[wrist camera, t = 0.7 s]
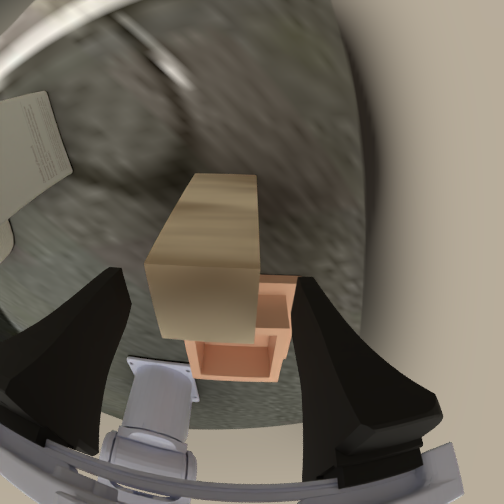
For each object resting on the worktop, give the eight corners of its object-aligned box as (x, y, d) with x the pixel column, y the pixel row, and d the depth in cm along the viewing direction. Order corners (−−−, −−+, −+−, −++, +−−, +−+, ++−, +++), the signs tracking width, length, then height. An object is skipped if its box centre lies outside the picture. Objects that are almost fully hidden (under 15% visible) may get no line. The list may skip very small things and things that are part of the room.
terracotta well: (285, 350, 28) (288, 387, 24) (188, 346, 27) (182, 383, 24) (301, 275, 22) (309, 316, 18) (175, 270, 22) (162, 310, 18)
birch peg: (253, 229, 20) (254, 343, 11) (197, 227, 20) (162, 337, 11) (256, 174, 18) (260, 269, 9) (194, 173, 17) (143, 263, 9)
